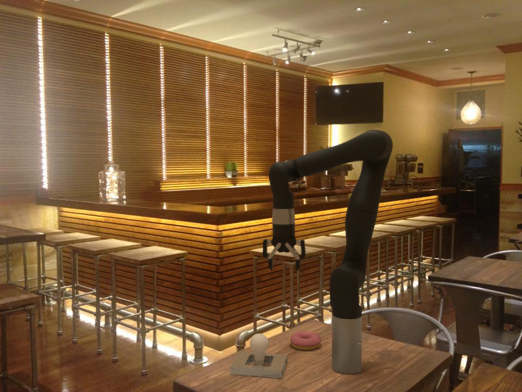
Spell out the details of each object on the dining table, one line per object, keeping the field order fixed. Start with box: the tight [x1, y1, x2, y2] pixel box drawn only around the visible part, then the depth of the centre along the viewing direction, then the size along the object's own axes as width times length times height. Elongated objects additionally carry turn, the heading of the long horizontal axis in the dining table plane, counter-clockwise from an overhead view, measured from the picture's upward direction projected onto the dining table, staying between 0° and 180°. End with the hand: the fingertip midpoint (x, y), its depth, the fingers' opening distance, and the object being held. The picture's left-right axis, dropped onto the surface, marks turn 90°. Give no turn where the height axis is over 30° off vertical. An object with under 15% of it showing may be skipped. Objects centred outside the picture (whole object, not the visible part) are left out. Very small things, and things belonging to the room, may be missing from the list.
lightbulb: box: [249, 333, 270, 366], centre depth 151 cm, size 6×6×11 cm
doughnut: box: [289, 330, 322, 351], centre depth 169 cm, size 11×11×4 cm
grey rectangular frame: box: [229, 350, 288, 380], centre depth 151 cm, size 16×12×2 cm
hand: (284, 270), depth 159 cm, fingers open, 8 cm apart
